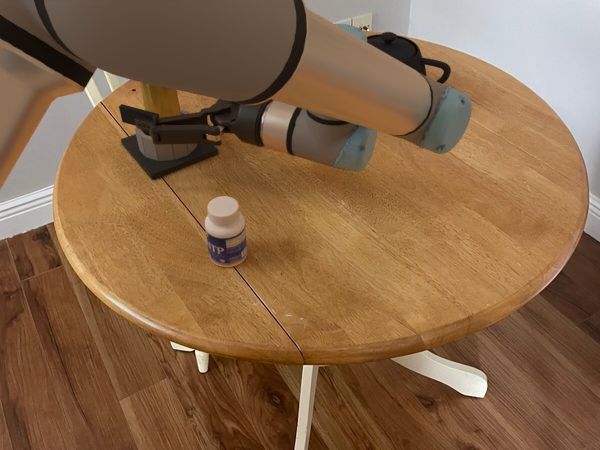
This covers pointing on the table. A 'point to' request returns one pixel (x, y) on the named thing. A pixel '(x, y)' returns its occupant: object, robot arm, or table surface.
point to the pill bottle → (225, 232)
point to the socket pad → (168, 165)
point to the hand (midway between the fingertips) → (148, 91)
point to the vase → (160, 100)
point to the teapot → (407, 53)
